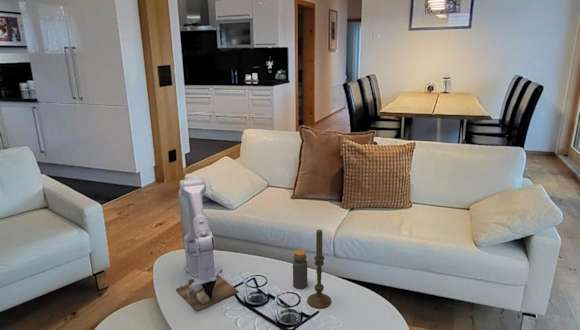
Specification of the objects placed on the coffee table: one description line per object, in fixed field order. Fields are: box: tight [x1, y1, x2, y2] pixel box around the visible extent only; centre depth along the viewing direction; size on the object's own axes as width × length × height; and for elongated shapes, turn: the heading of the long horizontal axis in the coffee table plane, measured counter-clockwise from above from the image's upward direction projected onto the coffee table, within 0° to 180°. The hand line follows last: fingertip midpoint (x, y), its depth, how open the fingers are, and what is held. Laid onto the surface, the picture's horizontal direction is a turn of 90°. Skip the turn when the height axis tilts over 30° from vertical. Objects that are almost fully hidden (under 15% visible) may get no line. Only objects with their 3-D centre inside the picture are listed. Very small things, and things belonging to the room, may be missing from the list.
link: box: [187, 278, 209, 304], centre depth 151 cm, size 14×3×3 cm, turn 36°
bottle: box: [292, 248, 308, 290], centre depth 157 cm, size 6×6×15 cm
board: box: [175, 274, 239, 313], centre depth 155 cm, size 18×18×1 cm
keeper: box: [186, 285, 204, 300], centre depth 150 cm, size 3×6×4 cm, turn 125°
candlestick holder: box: [306, 229, 332, 310], centre depth 144 cm, size 9×9×30 cm
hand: (208, 297), depth 149 cm, fingers closed, pressing on link
